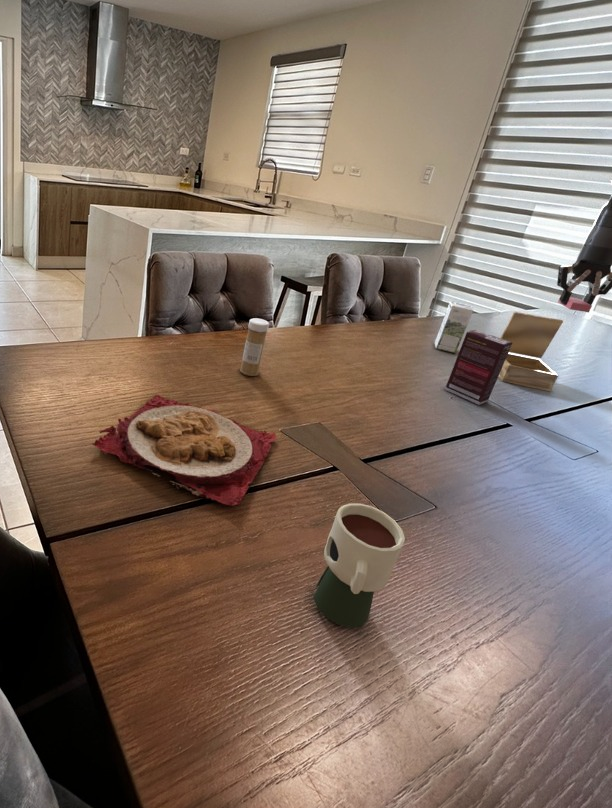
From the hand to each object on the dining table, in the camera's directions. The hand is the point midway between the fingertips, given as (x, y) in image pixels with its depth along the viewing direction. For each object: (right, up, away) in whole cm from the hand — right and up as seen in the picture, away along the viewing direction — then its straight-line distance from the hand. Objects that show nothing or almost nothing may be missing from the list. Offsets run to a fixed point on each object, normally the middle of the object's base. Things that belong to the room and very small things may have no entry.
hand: (573, 305), depth 131 cm
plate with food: (-110, -29, -48) cm, 124 cm away
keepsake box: (-15, -20, 0) cm, 25 cm away
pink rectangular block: (0, -1, 0) cm, 1 cm away
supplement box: (-40, -24, -15) cm, 49 cm away
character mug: (-94, -43, -75) cm, 127 cm away
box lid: (-13, -9, 0) cm, 15 cm away
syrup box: (-27, -12, +16) cm, 33 cm away
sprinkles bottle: (-94, -18, -17) cm, 97 cm away
